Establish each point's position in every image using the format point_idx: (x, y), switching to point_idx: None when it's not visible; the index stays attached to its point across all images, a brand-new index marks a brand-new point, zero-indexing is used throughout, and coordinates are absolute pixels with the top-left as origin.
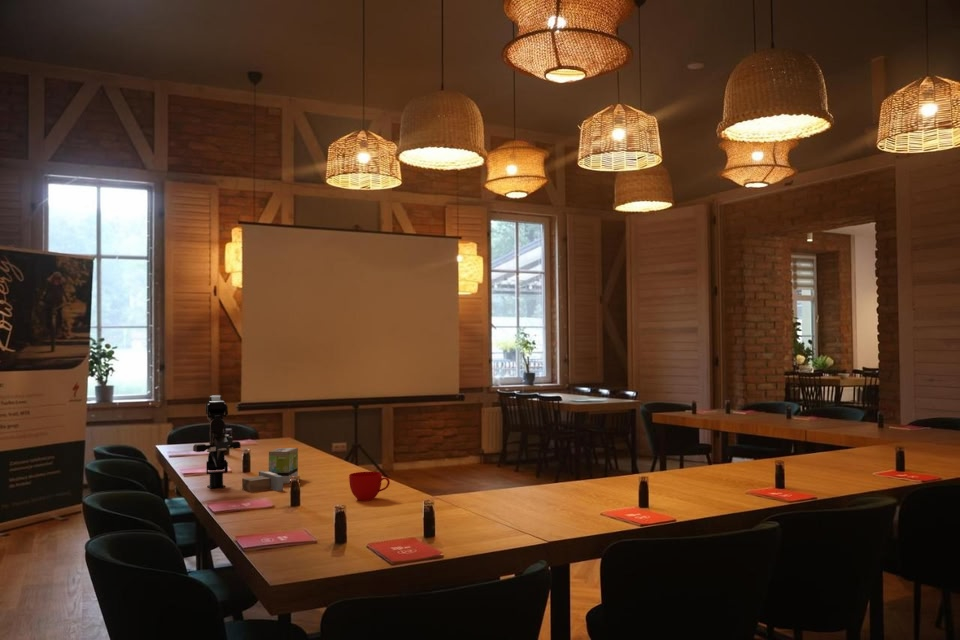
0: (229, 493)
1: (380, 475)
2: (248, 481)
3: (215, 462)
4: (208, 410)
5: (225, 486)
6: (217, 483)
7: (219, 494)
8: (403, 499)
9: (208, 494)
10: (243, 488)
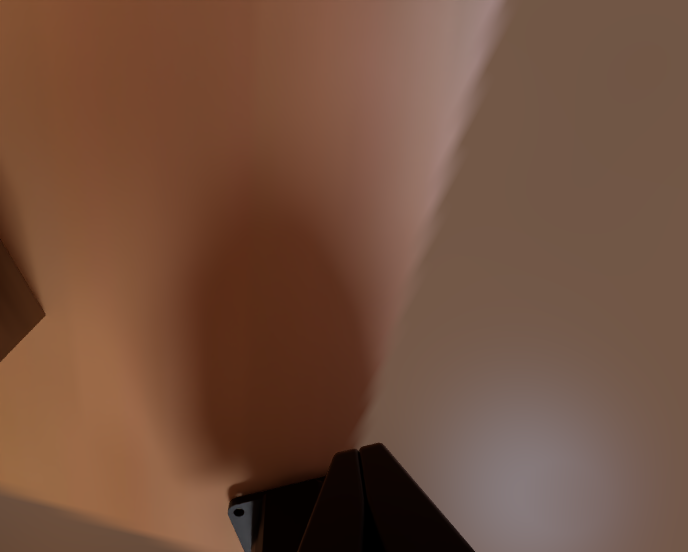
0: (188, 95)
1: None
2: None
3: (442, 517)
4: None
5: (231, 502)
6: (307, 507)
7: (313, 88)
8: None
9: (431, 163)
10: (21, 291)
